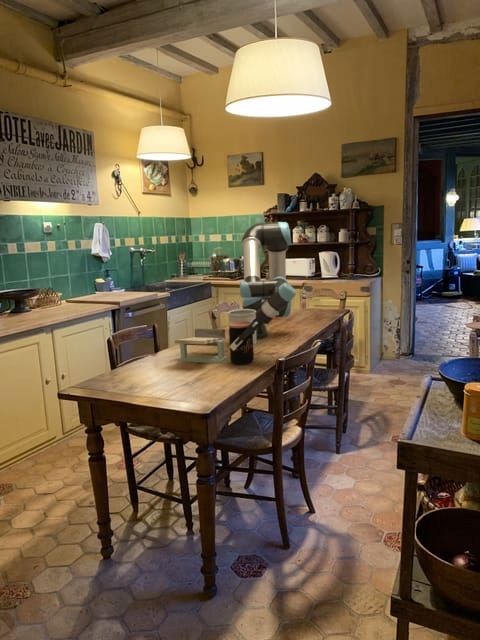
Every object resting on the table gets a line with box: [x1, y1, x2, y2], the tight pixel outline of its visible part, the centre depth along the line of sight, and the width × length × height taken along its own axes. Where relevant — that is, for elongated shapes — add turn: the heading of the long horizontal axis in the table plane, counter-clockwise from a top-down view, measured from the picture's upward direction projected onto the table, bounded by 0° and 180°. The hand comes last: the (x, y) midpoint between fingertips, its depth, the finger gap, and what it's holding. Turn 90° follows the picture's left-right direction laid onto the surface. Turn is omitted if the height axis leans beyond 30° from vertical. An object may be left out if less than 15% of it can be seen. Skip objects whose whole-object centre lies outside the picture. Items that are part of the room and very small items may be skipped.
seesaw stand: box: [177, 340, 228, 364], centre depth 233 cm, size 8×22×10 cm, turn 72°
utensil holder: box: [227, 308, 257, 346], centre depth 258 cm, size 15×15×18 cm
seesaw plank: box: [174, 328, 226, 347], centre depth 231 cm, size 27×16×7 cm, turn 162°
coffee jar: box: [228, 321, 255, 366], centre depth 225 cm, size 11×11×18 cm
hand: (236, 345), depth 225 cm, fingers open, 12 cm apart
